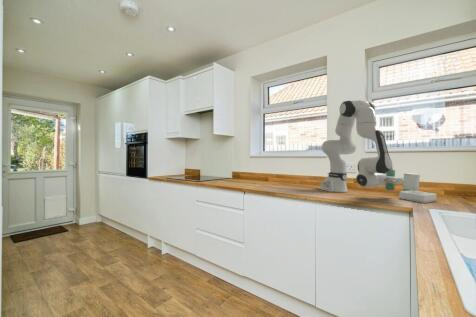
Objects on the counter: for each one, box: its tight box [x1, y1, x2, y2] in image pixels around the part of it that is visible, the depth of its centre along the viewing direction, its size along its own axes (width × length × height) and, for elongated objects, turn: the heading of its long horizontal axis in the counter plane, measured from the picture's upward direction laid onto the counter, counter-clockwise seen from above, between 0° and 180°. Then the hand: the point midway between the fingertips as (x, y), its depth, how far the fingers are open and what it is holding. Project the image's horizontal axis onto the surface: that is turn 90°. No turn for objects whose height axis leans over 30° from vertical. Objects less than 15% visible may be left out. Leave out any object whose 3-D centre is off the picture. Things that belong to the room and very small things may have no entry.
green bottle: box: [384, 166, 396, 191], centre depth 149 cm, size 5×5×15 cm
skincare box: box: [402, 172, 421, 191], centre depth 161 cm, size 8×7×16 cm
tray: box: [398, 190, 438, 204], centre depth 146 cm, size 14×14×4 cm
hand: (391, 178), depth 150 cm, fingers closed on green bottle, 5 cm apart
